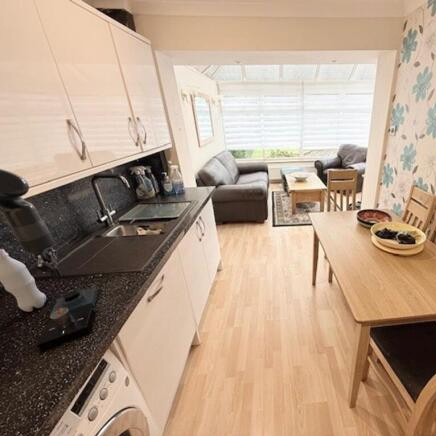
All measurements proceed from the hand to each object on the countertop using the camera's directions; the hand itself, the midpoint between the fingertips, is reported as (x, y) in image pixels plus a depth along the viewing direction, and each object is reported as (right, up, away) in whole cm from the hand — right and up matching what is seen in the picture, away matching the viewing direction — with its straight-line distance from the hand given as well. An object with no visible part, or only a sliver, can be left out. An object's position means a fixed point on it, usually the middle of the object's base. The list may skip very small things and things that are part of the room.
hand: (58, 277), depth 84 cm
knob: (+9, -14, -6) cm, 18 cm away
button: (+1, -9, +4) cm, 10 cm away
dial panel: (+9, -16, -5) cm, 20 cm away
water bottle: (-14, -13, +6) cm, 20 cm away
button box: (+2, -12, +6) cm, 13 cm away
